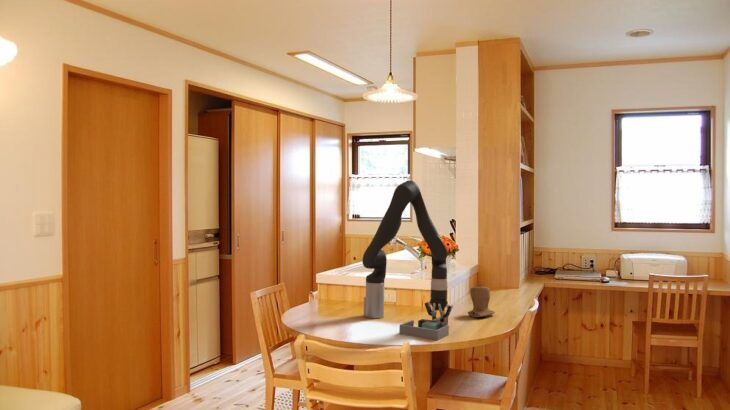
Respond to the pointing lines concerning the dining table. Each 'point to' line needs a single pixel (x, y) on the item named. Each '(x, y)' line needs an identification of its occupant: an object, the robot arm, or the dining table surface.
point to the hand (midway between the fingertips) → (438, 325)
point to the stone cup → (480, 302)
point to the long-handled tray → (434, 321)
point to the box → (423, 331)
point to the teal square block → (431, 325)
